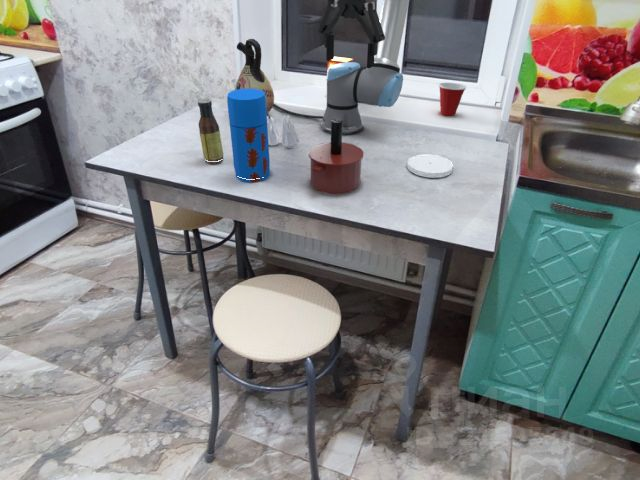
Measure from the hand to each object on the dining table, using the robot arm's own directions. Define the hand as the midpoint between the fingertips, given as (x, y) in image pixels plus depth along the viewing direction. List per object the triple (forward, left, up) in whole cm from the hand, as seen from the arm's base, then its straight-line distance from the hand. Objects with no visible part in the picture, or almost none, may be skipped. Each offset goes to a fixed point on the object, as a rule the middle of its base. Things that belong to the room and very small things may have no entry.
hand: (349, 63), depth 136 cm
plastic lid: (+24, +12, -32) cm, 41 cm away
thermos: (-19, -23, -32) cm, 44 cm away
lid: (+5, -13, -22) cm, 26 cm away
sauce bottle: (-36, -23, -32) cm, 53 cm away
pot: (+5, -13, -32) cm, 35 cm away
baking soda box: (-41, +58, -31) cm, 78 cm away
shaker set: (-26, 0, -32) cm, 41 cm away
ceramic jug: (-52, +16, -32) cm, 63 cm away
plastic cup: (+8, +65, -32) cm, 72 cm away
